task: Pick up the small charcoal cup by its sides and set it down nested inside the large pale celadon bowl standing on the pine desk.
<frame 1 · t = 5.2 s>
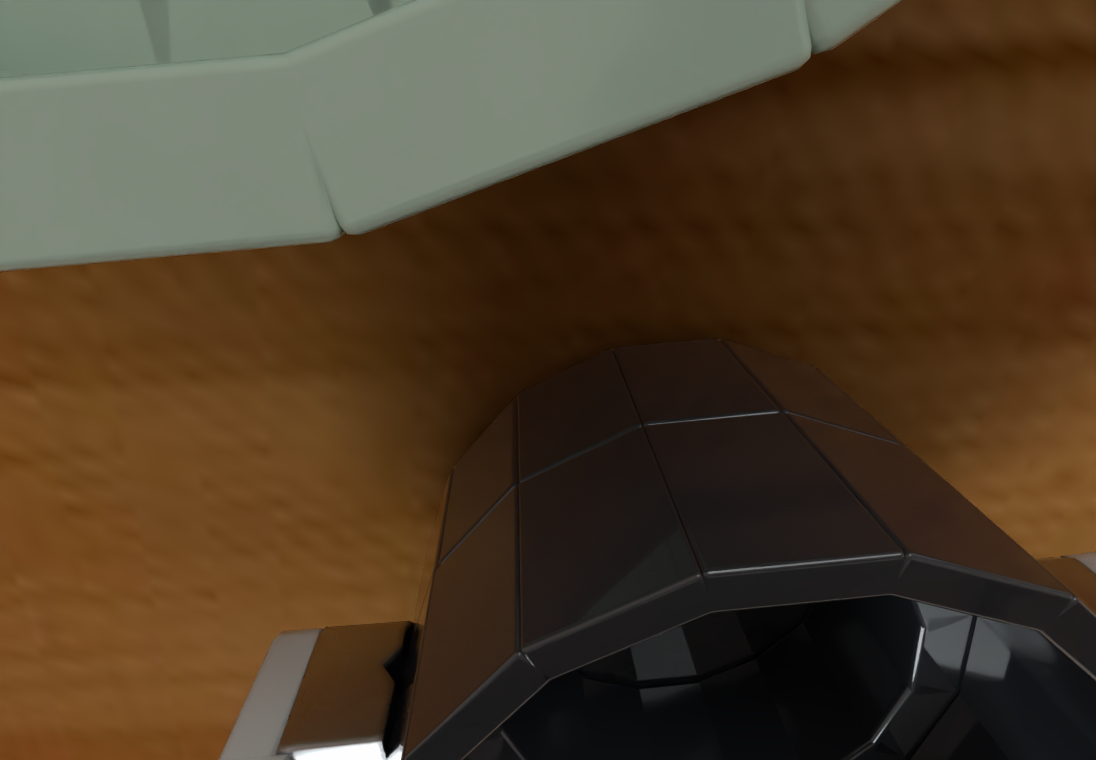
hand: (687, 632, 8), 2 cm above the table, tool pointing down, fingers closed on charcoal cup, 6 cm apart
charcoal cup: (659, 537, 10), on the table, touching gripper
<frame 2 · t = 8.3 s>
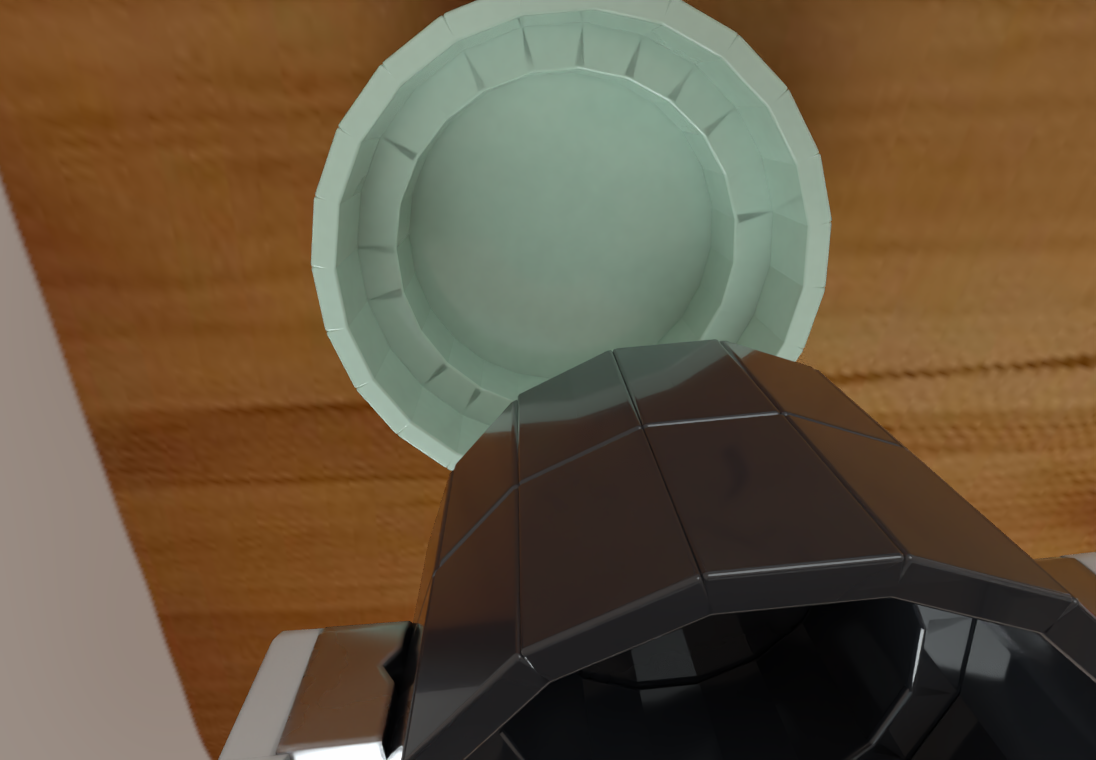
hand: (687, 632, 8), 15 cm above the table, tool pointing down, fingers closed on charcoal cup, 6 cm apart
celadon bowl: (560, 235, 21), on the table
charcoal cup: (659, 538, 10), point 14 cm above the table, touching gripper
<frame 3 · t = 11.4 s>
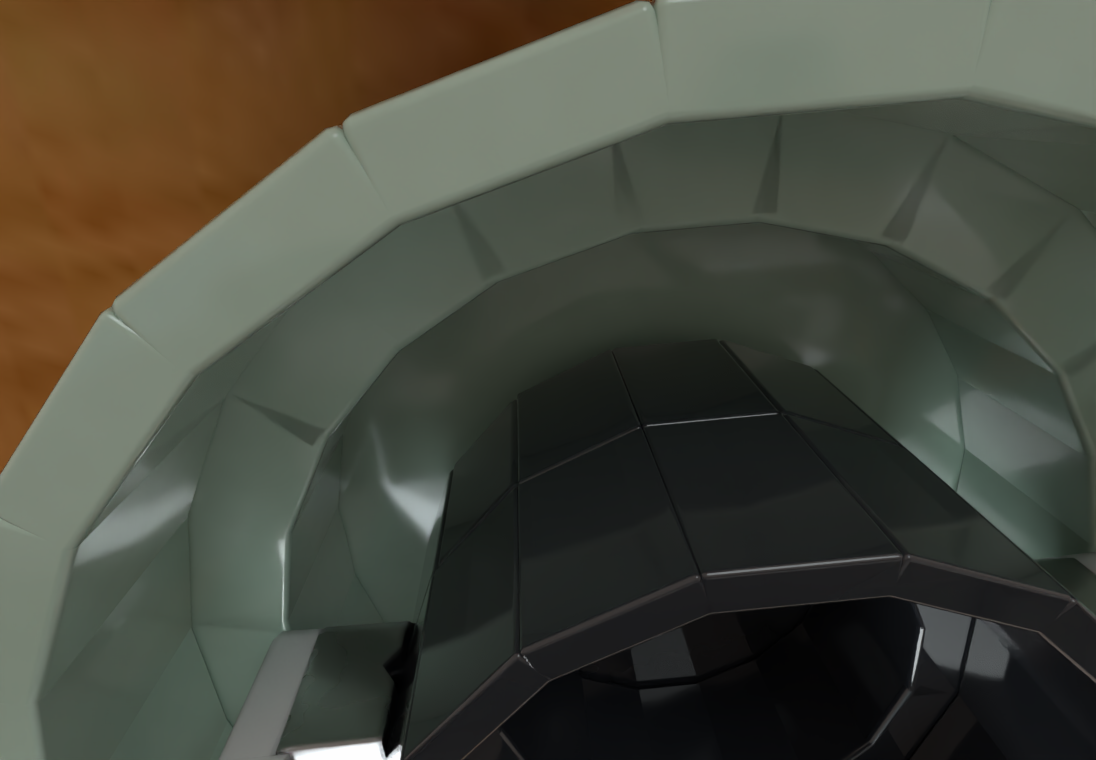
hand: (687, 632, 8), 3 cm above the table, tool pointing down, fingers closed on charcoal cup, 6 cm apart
celadon bowl: (646, 488, 11), on the table
charcoal cup: (659, 538, 10), point 1 cm above the table, touching gripper
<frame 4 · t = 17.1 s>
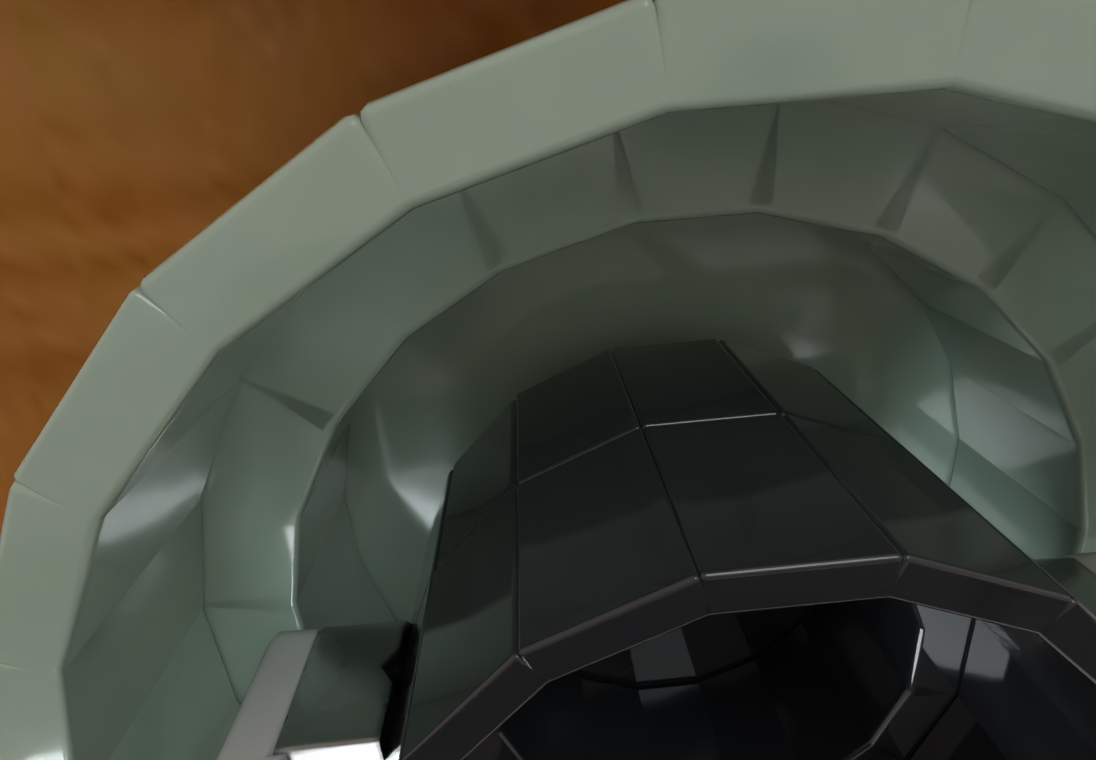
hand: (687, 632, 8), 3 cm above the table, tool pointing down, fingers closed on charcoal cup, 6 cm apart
celadon bowl: (646, 478, 11), on the table
charcoal cup: (658, 538, 10), point 2 cm above the table, touching gripper
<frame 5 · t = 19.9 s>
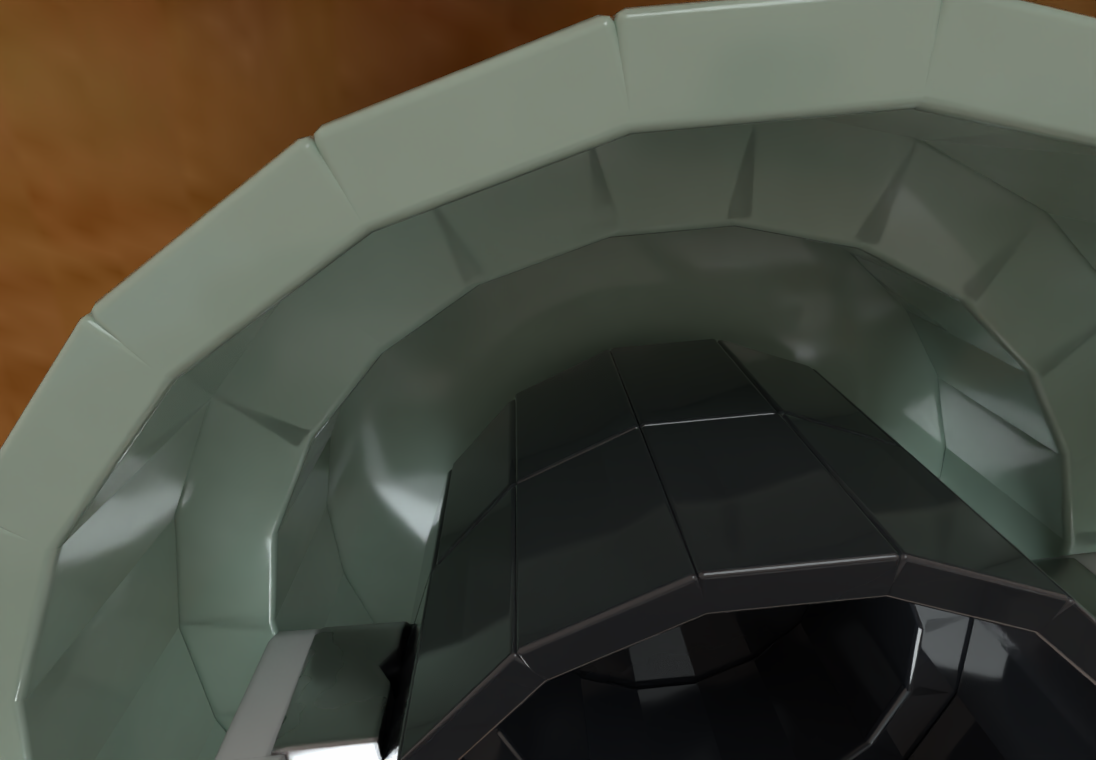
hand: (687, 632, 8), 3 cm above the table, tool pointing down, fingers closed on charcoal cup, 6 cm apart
celadon bowl: (632, 488, 11), on the table
charcoal cup: (657, 538, 10), point 1 cm above the table, touching gripper
when the fingers open (4 cm above the table, at t = 22.6 s): charcoal cup drops 2 cm, resting on celadon bowl.
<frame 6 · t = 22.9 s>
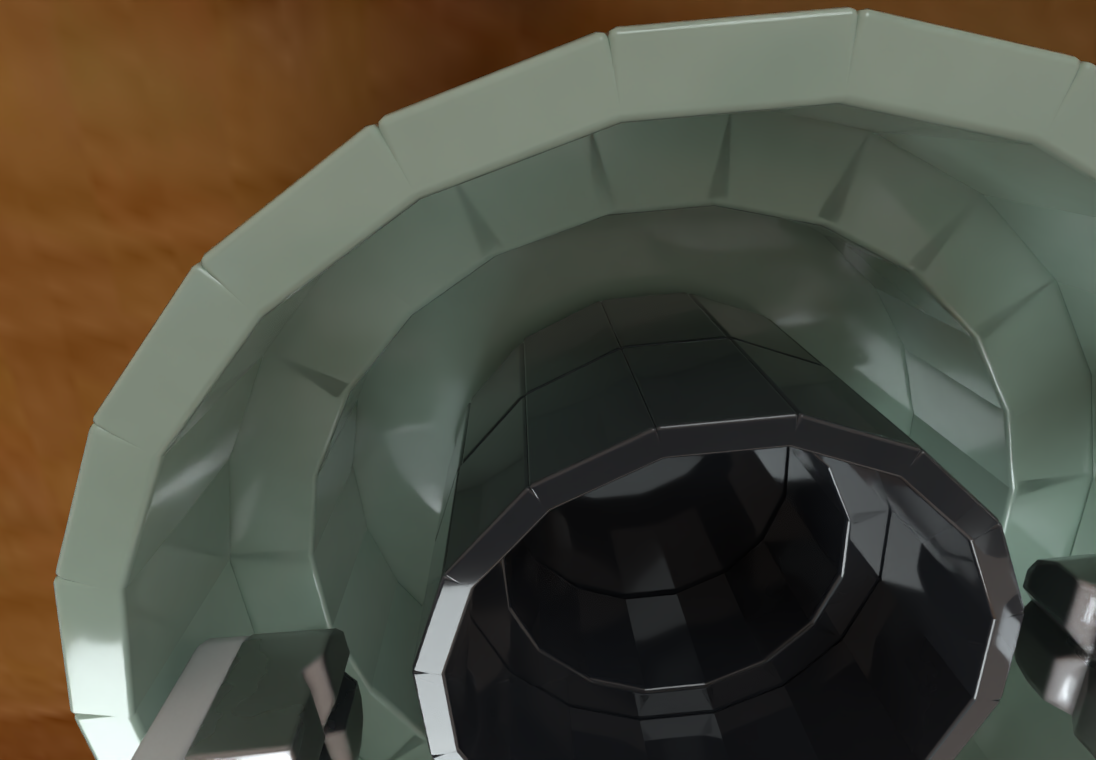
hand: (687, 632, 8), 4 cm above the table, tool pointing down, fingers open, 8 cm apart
celadon bowl: (629, 452, 12), on the table
charcoal cup: (642, 468, 11), point 1 cm above the table, touching celadon bowl
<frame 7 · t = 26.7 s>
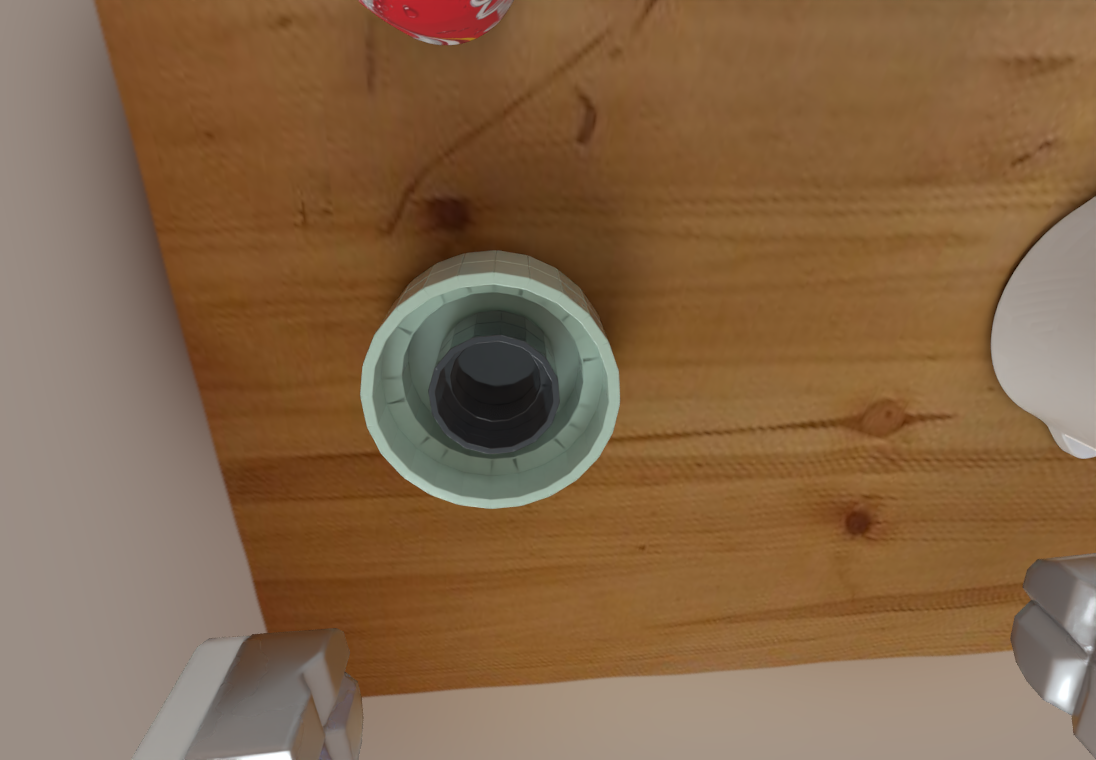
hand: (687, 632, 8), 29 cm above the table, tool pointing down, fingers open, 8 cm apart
celadon bowl: (494, 359, 37), on the table
charcoal cup: (496, 363, 37), point 1 cm above the table, touching celadon bowl
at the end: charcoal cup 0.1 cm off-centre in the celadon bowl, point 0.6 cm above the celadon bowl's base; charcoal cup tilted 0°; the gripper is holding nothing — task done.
